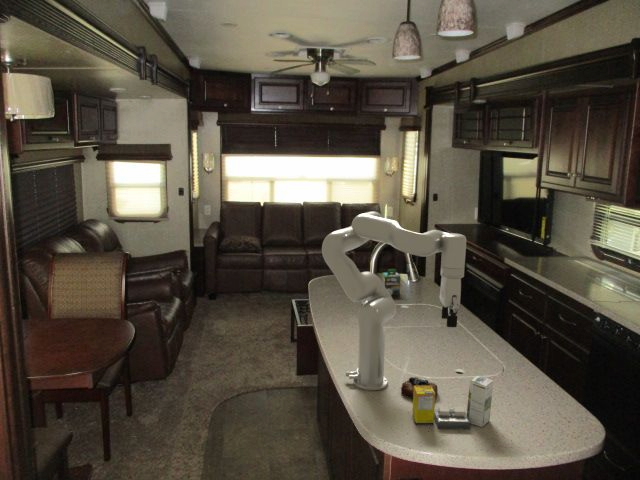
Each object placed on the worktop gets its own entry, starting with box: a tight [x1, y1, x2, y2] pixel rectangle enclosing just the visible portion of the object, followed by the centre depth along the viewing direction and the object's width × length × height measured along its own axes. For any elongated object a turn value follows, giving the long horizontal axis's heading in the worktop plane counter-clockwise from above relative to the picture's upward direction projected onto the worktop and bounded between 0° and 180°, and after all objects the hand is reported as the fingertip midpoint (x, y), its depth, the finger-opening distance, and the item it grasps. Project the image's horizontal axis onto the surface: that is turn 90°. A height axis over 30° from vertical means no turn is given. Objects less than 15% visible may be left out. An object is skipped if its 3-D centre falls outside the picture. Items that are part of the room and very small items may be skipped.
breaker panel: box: [434, 408, 471, 430], centre depth 178 cm, size 10×8×3 cm
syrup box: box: [466, 375, 494, 428], centre depth 178 cm, size 6×6×14 cm
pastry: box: [400, 376, 438, 400], centre depth 197 cm, size 11×12×6 cm
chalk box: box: [381, 268, 401, 297], centre depth 317 cm, size 9×9×15 cm
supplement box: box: [411, 386, 436, 426], centre depth 178 cm, size 6×6×11 cm
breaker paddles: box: [437, 406, 466, 416], centre depth 178 cm, size 8×2×2 cm, turn 89°
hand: (448, 322), depth 184 cm, fingers open, 7 cm apart
